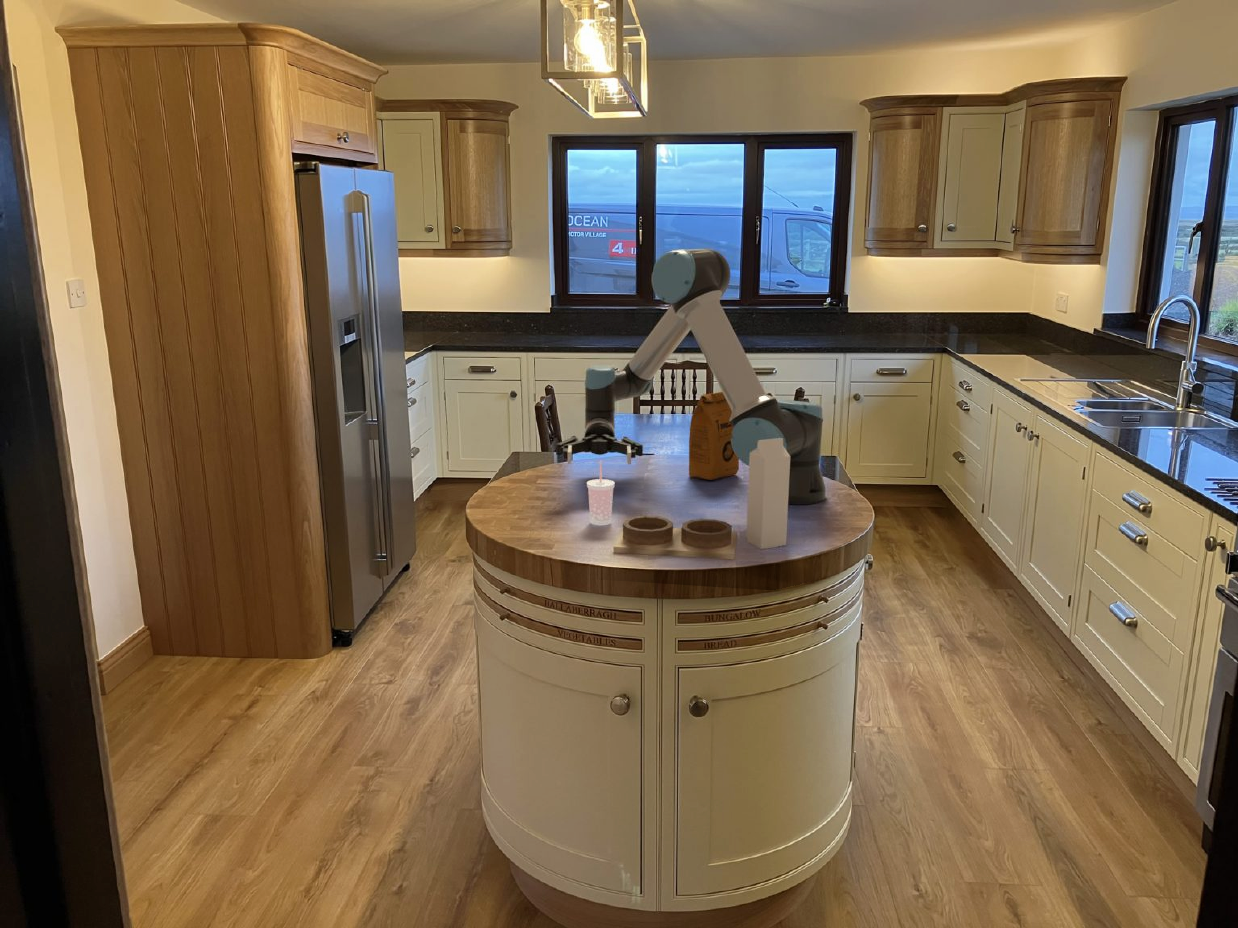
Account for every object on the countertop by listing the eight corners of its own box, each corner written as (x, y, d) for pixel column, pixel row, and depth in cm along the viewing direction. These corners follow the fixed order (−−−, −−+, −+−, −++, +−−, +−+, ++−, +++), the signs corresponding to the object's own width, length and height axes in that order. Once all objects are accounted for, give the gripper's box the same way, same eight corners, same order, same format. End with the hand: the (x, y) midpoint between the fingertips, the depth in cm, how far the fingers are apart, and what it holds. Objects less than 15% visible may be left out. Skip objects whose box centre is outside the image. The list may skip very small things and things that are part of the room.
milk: (786, 546, 200) (792, 441, 195) (760, 549, 198) (766, 443, 192) (770, 537, 206) (775, 434, 200) (745, 540, 203) (750, 437, 198)
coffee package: (744, 476, 253) (747, 392, 247) (710, 484, 245) (713, 397, 240) (716, 468, 260) (719, 386, 255) (683, 476, 252) (684, 392, 247)
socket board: (737, 536, 206) (737, 517, 204) (734, 559, 192) (734, 539, 191) (624, 530, 209) (624, 511, 208) (613, 552, 196) (613, 532, 195)
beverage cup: (604, 528, 211) (605, 465, 207) (581, 523, 214) (581, 461, 210) (619, 520, 216) (620, 459, 212) (596, 516, 219) (596, 455, 215)
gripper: (649, 451, 243) (654, 474, 223) (549, 451, 243) (544, 473, 222) (650, 422, 241) (654, 442, 221) (549, 421, 241) (544, 441, 220)
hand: (599, 458), depth 221 cm, fingers open, 13 cm apart
